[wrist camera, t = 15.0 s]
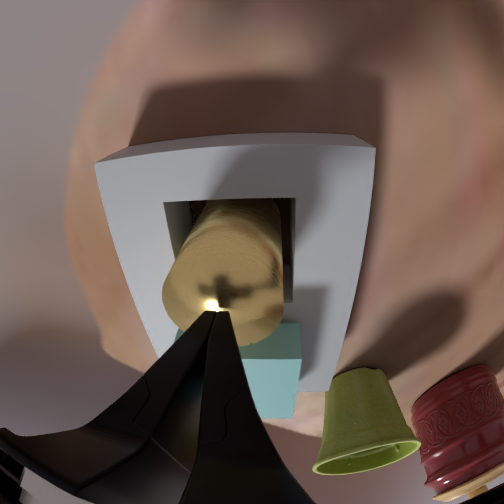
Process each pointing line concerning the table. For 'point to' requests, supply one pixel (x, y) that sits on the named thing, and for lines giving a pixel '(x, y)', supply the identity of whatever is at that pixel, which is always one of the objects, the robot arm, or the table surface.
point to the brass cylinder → (230, 268)
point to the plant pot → (362, 425)
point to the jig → (238, 187)
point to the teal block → (273, 370)
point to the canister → (461, 433)
